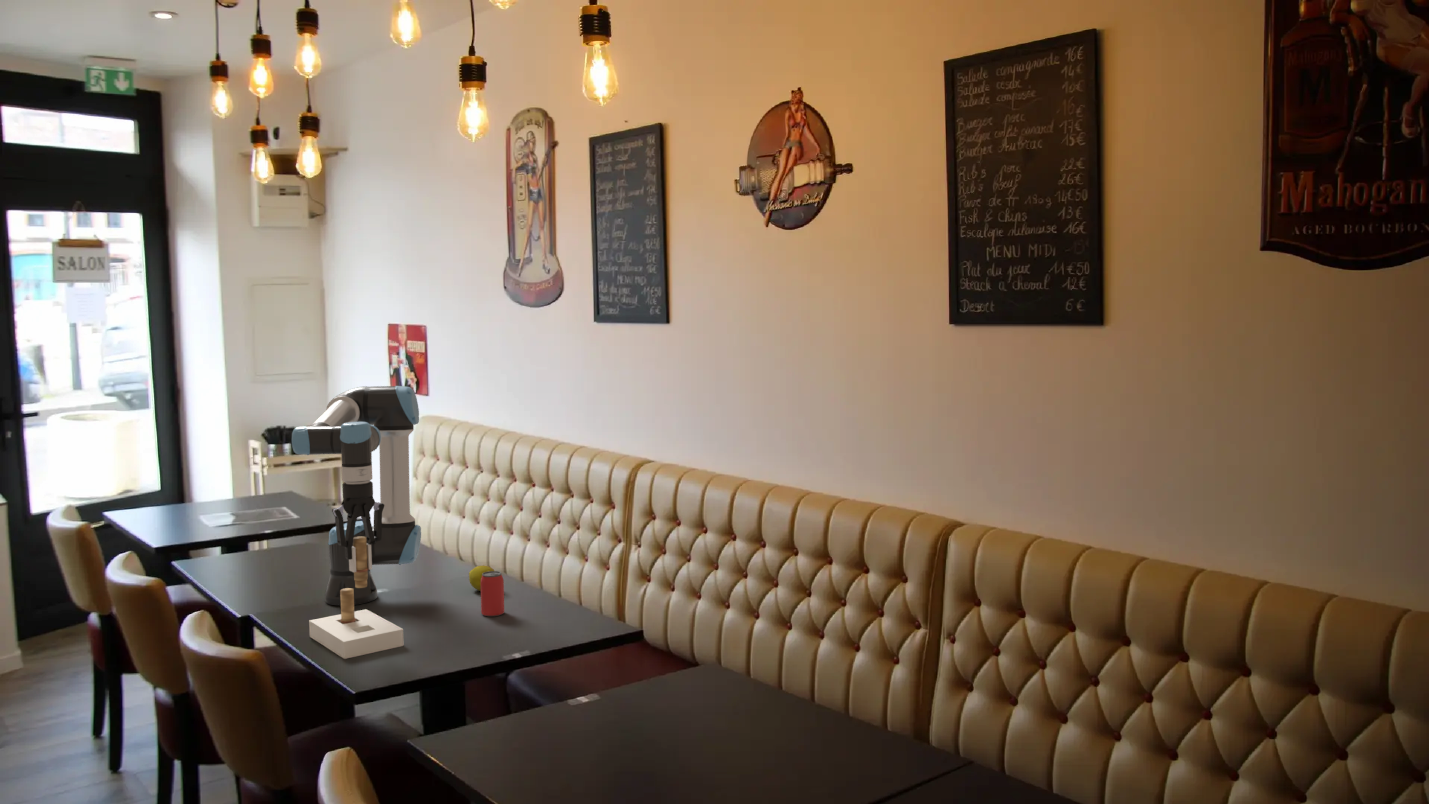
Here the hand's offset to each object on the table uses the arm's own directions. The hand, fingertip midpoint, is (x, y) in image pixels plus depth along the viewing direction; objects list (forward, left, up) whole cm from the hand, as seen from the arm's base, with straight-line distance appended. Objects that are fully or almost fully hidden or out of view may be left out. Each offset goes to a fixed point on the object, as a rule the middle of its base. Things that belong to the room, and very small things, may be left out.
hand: (360, 569), depth 287 cm
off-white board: (0, -5, -21) cm, 21 cm away
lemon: (-50, -27, -21) cm, 61 cm away
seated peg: (0, -10, -21) cm, 23 cm away
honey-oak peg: (0, 0, -5) cm, 5 cm away
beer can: (-40, -3, -21) cm, 45 cm away
